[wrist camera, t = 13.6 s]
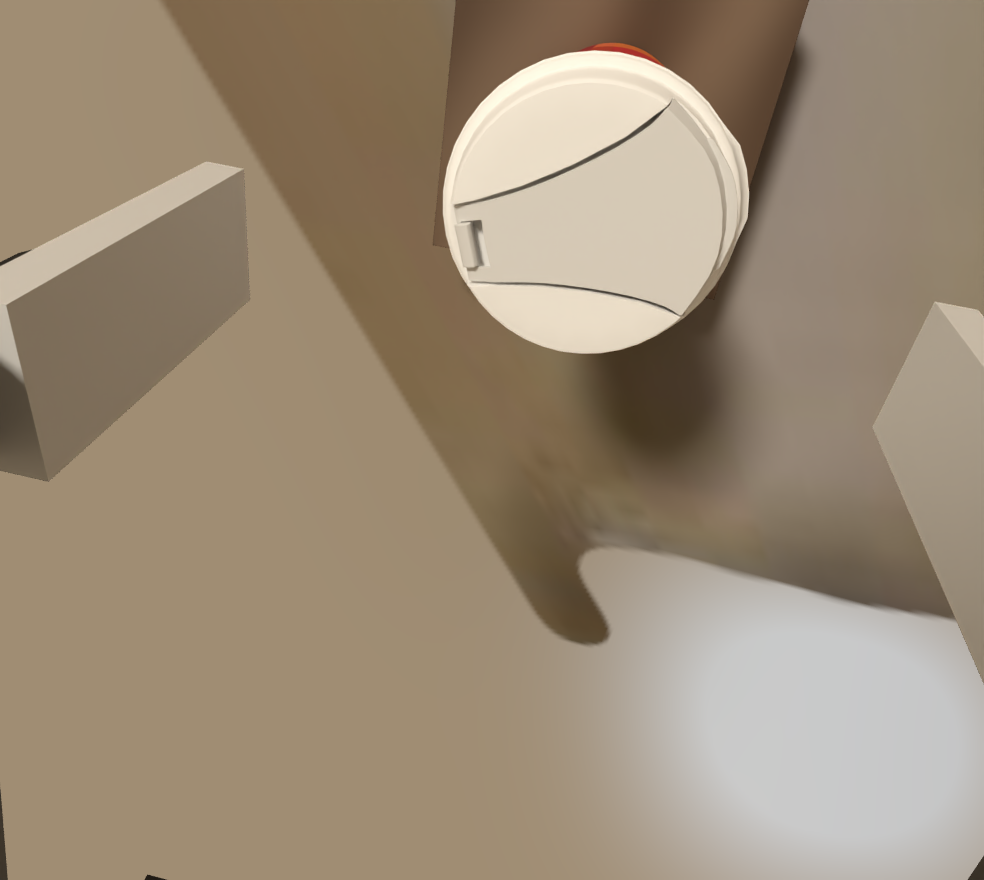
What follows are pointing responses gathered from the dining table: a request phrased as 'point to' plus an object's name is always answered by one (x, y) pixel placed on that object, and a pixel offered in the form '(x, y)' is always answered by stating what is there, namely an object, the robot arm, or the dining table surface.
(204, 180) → the robot arm
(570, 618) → the dining table surface
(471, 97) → the podium
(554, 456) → the dining table surface
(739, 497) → the dining table surface
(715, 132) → the paper cup
